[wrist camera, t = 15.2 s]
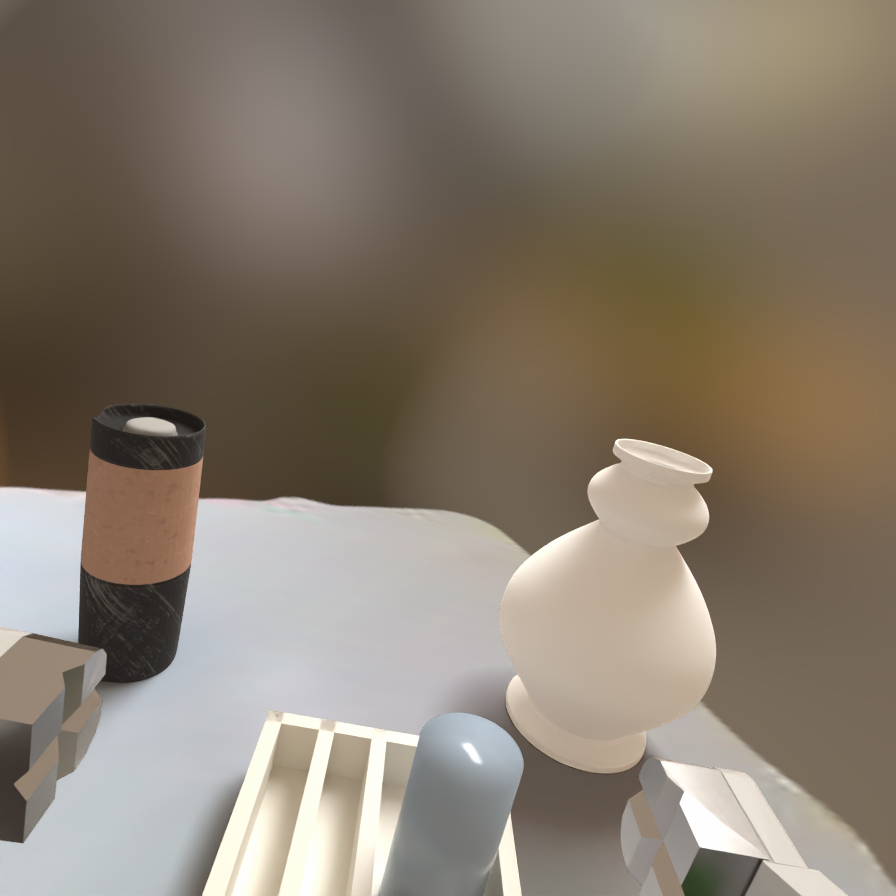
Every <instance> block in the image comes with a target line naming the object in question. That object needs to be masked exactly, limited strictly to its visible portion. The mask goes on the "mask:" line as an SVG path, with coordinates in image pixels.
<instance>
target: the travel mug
mask: <svg viewBox="0 0 896 896" xmlns="http://www.w3.org/2000/svg"><path fill="white" fill-rule="evenodd" d="M205 436H206V424H205V422H204V421H203V420H202V419H201V418H199V417H197V416H195V415H193V414H191V413H188V412H185V411H182V410H178V409H174V408H169V407H164V406H157V405H147V404H120V405H112V406H108V407H106V408H105V409H104V410H103V411H102V413H101V414H100V415H99V416H98V417H97V418H94V417H92V430H91V443H90V454H89V467H88V479H87V491H86V503H85V515H84V527H83V539H82V551H81V571H80V604H79V638H78V643H79V644H84V645H88V646H93V647H97V648H102V649H103V650H104V651H105V653H106V654H107V659H106V672H105V675H104V676H103V678H102V679H101V680H104V681H110V682H132V681H138V680H142V679H146V678H149V677H151V676H154V675H156V674H158V673H160V672H161V671H163V670H164V669H166V668H167V667H168V666H169V665H170V664H171V662H172V661H173V659H174V657H175V655H176V651H177V646H178V640H179V635H180V628H181V622H182V616H183V610H184V604H185V598H186V591H187V585H188V579H189V573H190V567H191V560H192V551H193V542H194V533H195V525H196V516H197V507H198V498H199V489H200V480H201V471H202V462H203V454H204V444H205Z"/></svg>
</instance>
